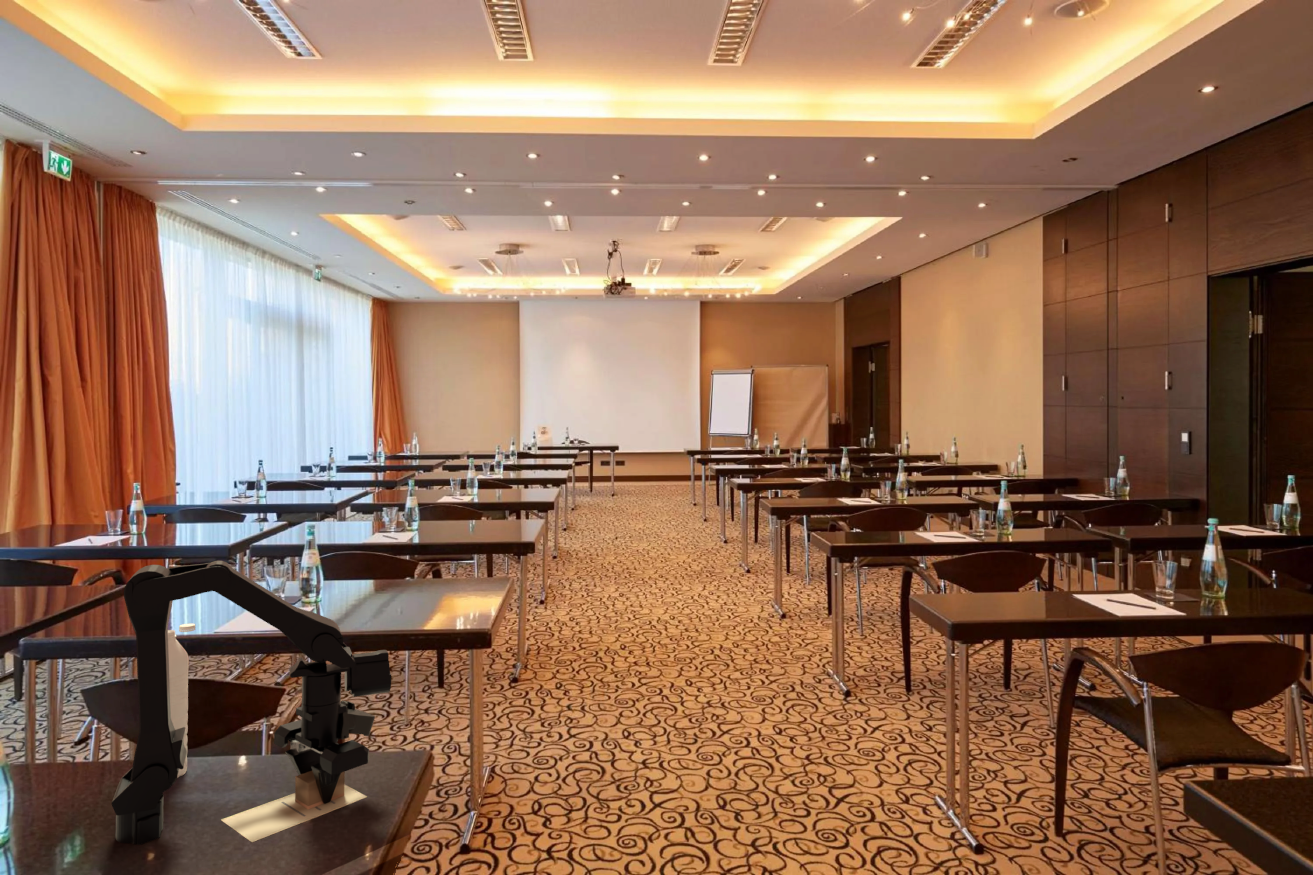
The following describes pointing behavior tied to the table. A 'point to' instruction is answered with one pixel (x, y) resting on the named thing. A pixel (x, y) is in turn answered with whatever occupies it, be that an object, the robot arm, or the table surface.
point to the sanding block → (314, 790)
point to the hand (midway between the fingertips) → (319, 798)
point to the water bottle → (179, 684)
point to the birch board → (283, 815)
